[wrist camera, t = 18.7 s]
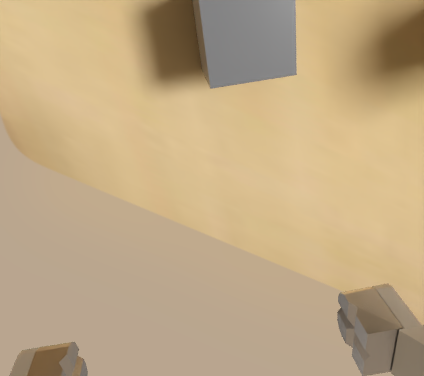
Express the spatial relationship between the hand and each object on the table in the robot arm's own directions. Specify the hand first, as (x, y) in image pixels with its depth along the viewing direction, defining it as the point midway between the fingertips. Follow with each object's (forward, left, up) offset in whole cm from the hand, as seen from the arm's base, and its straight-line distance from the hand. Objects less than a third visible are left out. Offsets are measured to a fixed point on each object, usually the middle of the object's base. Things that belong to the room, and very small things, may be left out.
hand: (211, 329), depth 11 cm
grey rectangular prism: (-5, +6, -29) cm, 30 cm away
